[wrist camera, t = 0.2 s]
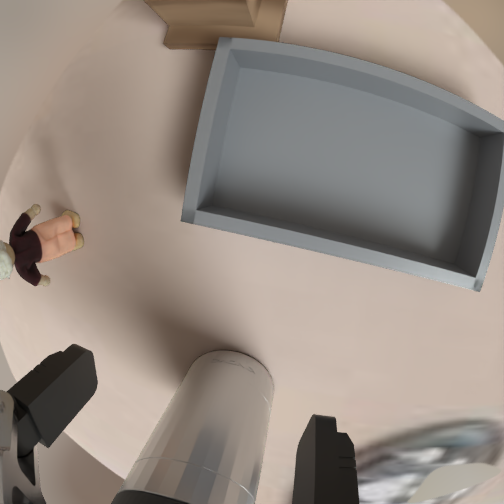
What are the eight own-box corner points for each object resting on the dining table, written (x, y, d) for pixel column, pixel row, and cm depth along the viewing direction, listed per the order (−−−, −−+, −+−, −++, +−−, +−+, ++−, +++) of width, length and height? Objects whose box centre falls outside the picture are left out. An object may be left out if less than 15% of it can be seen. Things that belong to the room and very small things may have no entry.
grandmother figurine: (54, 207, 28) (-35, 226, 16) (76, 196, 27) (-20, 212, 15) (73, 271, 29) (-10, 313, 17) (95, 265, 29) (8, 309, 16)
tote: (454, 273, 23) (479, 291, 19) (202, 213, 26) (180, 221, 21) (483, 132, 20) (512, 126, 15) (233, 60, 22) (219, 36, 17)
